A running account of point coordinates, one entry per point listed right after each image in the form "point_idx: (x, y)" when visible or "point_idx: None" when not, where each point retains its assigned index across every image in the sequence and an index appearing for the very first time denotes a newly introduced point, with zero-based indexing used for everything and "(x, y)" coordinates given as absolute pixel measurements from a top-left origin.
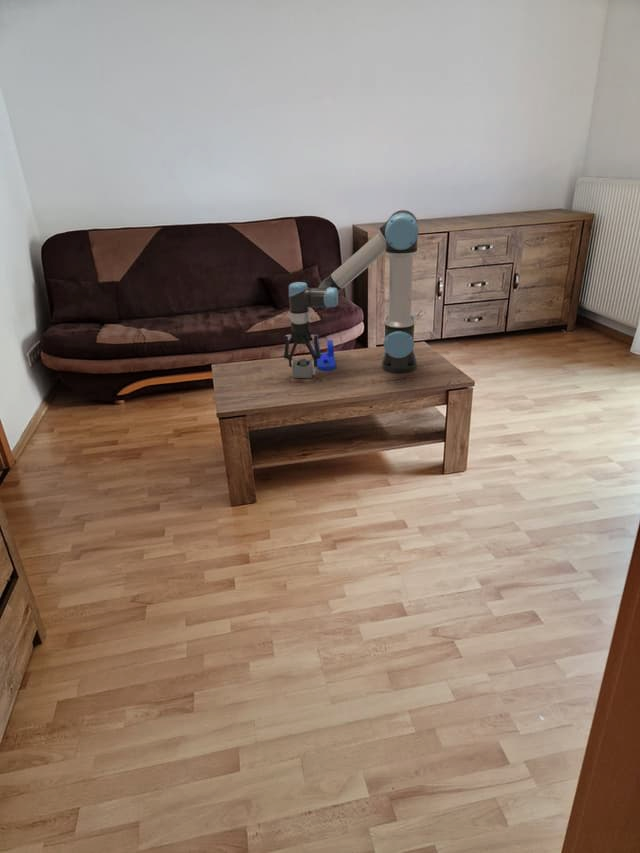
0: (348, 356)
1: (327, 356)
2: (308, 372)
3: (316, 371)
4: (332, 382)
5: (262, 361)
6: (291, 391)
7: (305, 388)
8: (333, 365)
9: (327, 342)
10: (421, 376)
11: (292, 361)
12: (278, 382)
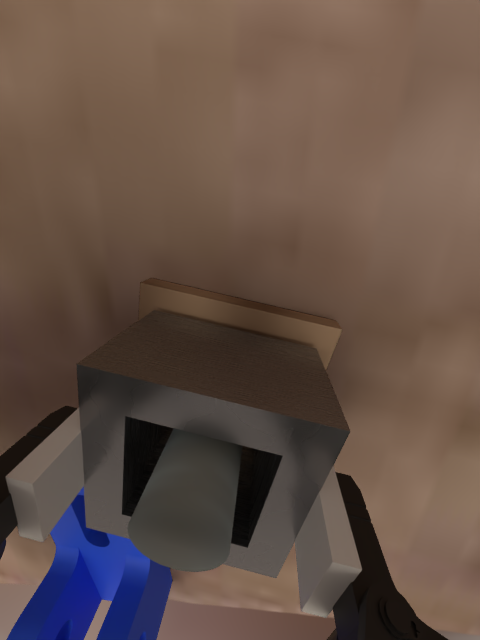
0: (25, 549)
1: (95, 570)
2: (157, 336)
3: None
4: (16, 252)
5: (434, 623)
6: (365, 89)
7: (219, 155)
8: None
9: None
10: None
11: (337, 544)
12: (432, 345)
